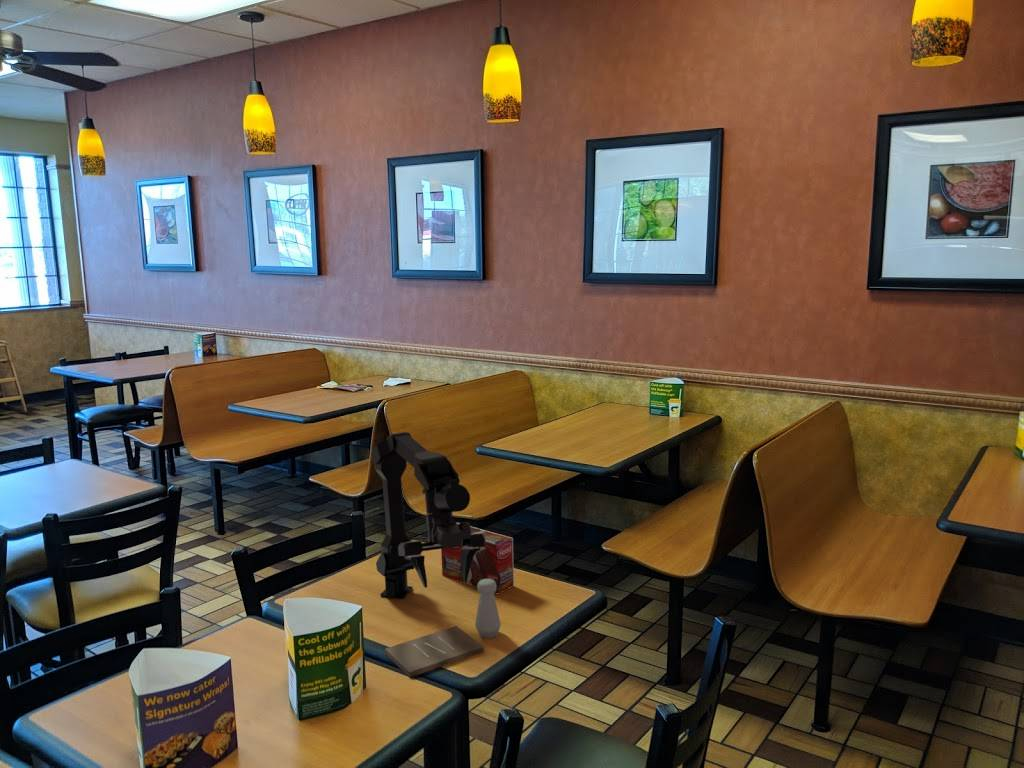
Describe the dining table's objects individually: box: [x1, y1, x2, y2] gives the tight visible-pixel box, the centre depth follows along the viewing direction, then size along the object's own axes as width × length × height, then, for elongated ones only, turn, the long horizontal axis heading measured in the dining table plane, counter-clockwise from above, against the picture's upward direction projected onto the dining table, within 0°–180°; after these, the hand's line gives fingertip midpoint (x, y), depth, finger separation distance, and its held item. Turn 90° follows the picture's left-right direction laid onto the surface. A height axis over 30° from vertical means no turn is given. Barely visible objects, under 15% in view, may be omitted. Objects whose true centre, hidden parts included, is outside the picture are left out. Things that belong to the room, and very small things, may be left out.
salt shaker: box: [474, 579, 501, 640], centre depth 178 cm, size 6×6×13 cm
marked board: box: [384, 625, 485, 678], centre depth 171 cm, size 18×12×1 cm, turn 124°
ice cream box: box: [441, 522, 515, 594], centre depth 207 cm, size 20×6×13 cm, turn 51°
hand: (445, 584), depth 171 cm, fingers open, 9 cm apart
